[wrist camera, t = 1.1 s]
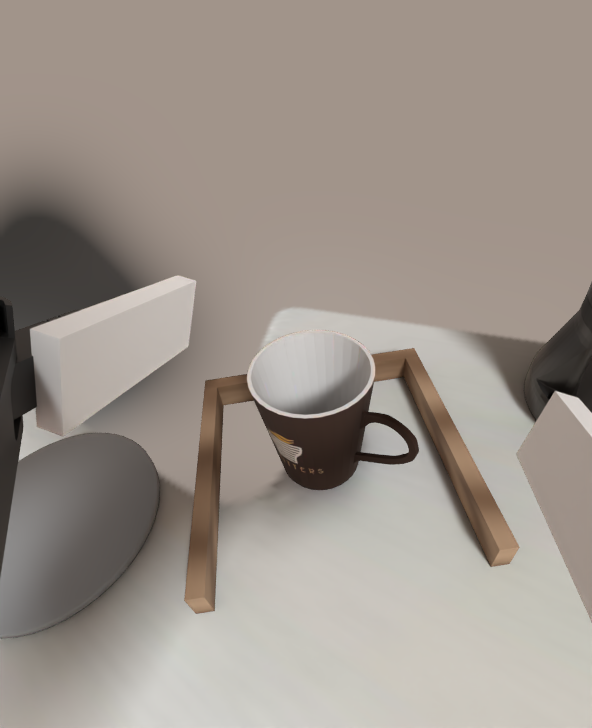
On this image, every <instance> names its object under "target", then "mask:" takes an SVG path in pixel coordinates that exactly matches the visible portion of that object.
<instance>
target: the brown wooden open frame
mask: <svg viewBox="0 0 592 728" xmlns="http://www.w3.org/2000/svg"><path fill="white" fill-rule="evenodd" d="M372 357H373V359H374V363H375V379H374V382H375V381H382V380H388V379H394V378H401V377H404V379H405V381H406V383H407V385H408V387H409V389H410V392H411V394H412V396H413V398H414V400H415V403H416V405H417V407H418V409H419V411H420V413H421V416H422V418H423V420H424V422H425V424H426V427H427V429H428V431H429V433H430V435H431V437H432V440H433V442H434V444H435V446H436V448H437V451H438V453H439V455H440V457H441V459H442V461H443V464H444V466H445V468H446V470H447V472H448V474H449V477H450V479H451V481H452V483H453V485H454V488H455V490H456V492H457V494H458V496H459V498H460V501H461V503H462V505H463V507H464V509H465V512H466V514H467V516H468V518H469V520H470V522H471V525H472V527H473V529H474V531H475V533H476V536H477V538H478V540H479V542H480V544H481V546H482V549H483V551H484V553H485V555H486V557H487V560H488V562H489V564H490V566H491V567H493V566H499V565H505V564H509V563H510V562H511V560H512V558H513V557H514V555H515V554H516V552H517V550H518V549H519V545H518V543H517V542H516V540H515V538H514V536H513V534H512V532H511V530H510V528H509V526H508V525H507V523H506V521H505V519H504V517H503V515H502V513H501V511H500V509H499V508H498V506H497V504H496V502H495V500H494V498H493V496H492V494H491V493H490V491H489V489H488V487H487V485H486V483H485V481H484V479H483V477H482V476H481V474H480V472H479V470H478V468H477V466H476V464H475V462H474V460H473V459H472V457H471V455H470V453H469V451H468V449H467V447H466V445H465V443H464V442H463V440H462V438H461V436H460V434H459V432H458V430H457V428H456V426H455V425H454V423H453V421H452V419H451V417H450V415H449V413H448V411H447V409H446V408H445V406H444V404H443V402H442V400H441V398H440V396H439V394H438V392H437V391H436V389H435V387H434V385H433V383H432V381H431V379H430V377H429V376H428V374H427V372H426V370H425V368H424V366H423V364H422V362H421V360H420V359H419V357H418V355H417V353H416V351H415V349H414V348H412V349H405V350H399V351H392V352H386V353H380V354H373V355H372ZM247 401H254V399H253V397H252V395H251V392H250V390H249V388H248V383H247V374H246V375H238V376H232V377H226V378H220V379H213V380H207V381H205V391H204V401H203V412H202V422H201V434H200V443H199V453H198V464H197V474H196V485H195V495H194V506H193V516H192V526H191V537H190V547H189V558H188V568H187V578H186V589H185V599H184V601H185V602H186V603H187V604H188V605H189V606H190V607H191V609H192V610H193V611H194V612H195V613H196V614H198V613H204V612H210V611H215V589H216V566H217V543H218V520H219V495H220V473H221V450H222V425H223V405H227V404H234V403H240V402H247Z"/></svg>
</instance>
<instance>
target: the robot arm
mask: <svg viewBox="0 0 592 728" xmlns="http://www.w3.org/2000/svg"><path fill="white" fill-rule="evenodd" d="M195 288H196V281H195V280H192V279H188V278H185V277H182V276H179V275H177V276H174V277H171V278H169V279H166V280H163V281H160V282H158V283H155V284H152V285H149V286H147V287H144V288H141V289H138V290H135V291H133V292H130V293H127V294H124V295H122V296H119V297H116V298H113V299H111V300H108V301H105V302H102V303H100V304H97V305H94V306H91V307H89V308H86V309H81V310H73V311H70V312H68V313H64V314H62V315H59V316H58V317H53V318H50V319H48V320H47V321H42V322H39V323H36V324H33V325H31V326H28V327H25V328H22V329H19V330H17V331H15V330H14V320H13V309H12V303H11V301H9V300H8V299H6V298H3V297H0V577H1V570H2V564H3V557H4V551H5V544H6V538H7V531H8V524H9V518H10V511H11V505H12V498H13V492H14V485H15V479H16V472H17V465H18V459H19V452H20V446H21V439H22V433H23V417H22V415H23V414H25V413H27V412H29V411H30V410H32V409H34V408H35V407H36V420H37V427H39V428H42V429H44V430H47V431H50V432H52V433H55V434H58V435H60V436H65V435H66V434H67V433H69V432H70V431H72V430H73V429H74V428H76V427H77V426H78V425H80V424H81V423H83V422H84V421H85V420H87V419H88V418H90V417H91V416H92V415H94V414H95V413H97V412H98V411H99V410H101V409H102V408H104V407H105V406H106V405H108V404H109V403H110V402H112V401H113V400H115V399H116V398H117V397H119V396H120V395H121V394H123V393H124V392H126V391H127V390H128V389H130V388H131V387H133V386H134V385H135V384H137V383H138V382H140V381H141V380H142V379H144V378H145V377H147V376H148V375H149V374H151V373H152V372H154V371H155V370H156V369H158V368H159V367H161V366H162V365H163V364H165V363H166V362H168V361H169V360H170V359H172V358H173V357H174V356H176V355H177V354H179V353H180V352H181V351H183V350H184V349H186V348H187V347H188V345H189V337H190V329H191V321H192V312H193V305H194V296H195ZM524 393H525V398H526V402H527V404H528V407H529V409H530V411H531V413H532V414H533V416H534V417H535V419H536V420H537V421H536V423H535V424H534V426H533V428H532V429H531V431H530V432H529V434H528V436H527V437H526V439H525V441H524V442H523V444H522V446H521V447H520V449H519V450H518V452H517V454H516V455H517V457H518V459H519V462H520V464H521V466H522V468H523V470H524V473H525V475H526V477H527V479H528V482H529V484H530V486H531V488H532V490H533V493H534V495H535V497H536V499H537V502H538V504H539V506H540V508H541V510H542V513H543V515H544V517H545V519H546V522H547V524H548V526H549V528H550V530H551V533H552V535H553V537H554V539H555V542H556V544H557V546H558V548H559V550H560V553H561V555H562V557H563V559H564V562H565V564H566V566H567V568H568V570H569V573H570V575H571V577H572V579H573V582H574V584H575V586H576V588H577V590H578V593H579V595H580V597H581V599H582V602H583V604H584V606H585V608H586V610H587V613H588V615H589V617H590V619H591V622H592V283H591V285H590V287H589V290H588V293H587V295H586V297H585V300H584V301H583V304H582V306H581V308H580V310H579V311H578V312H577V313H576V314H575V315H574V316H573V317H572V318H571V319H570V320H569V321H568V322H567V323H566V324H565V325H564V326H563V327H562V328H561V329H560V330H559V331H558V332H557V333H556V334H555V335H554V336H553V337H552V338H551V339H550V340H549V341H548V342H547V343H546V344H545V345H544V346H543V347H542V348H541V349H540V350H539V352H538V353H537V354H536V356H535V357H534V359H533V361H532V363H531V366H530V368H529V371H528V374H527V376H526V379H525V384H524Z"/></svg>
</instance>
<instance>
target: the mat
mask: <svg viewBox="0 0 592 728" xmlns="http://www.w3.org/2000/svg"><path fill="white" fill-rule="evenodd" d="M159 495H160V486H159V478H158V473H157V470H156V468H155V466H154V463H153V462H152V460H151V459H150V457H149V456H148V454H147V453H146V451H145V450H144V449H143V448H142V447H141V446H140V445H139V444H137V443H136V442H134V441H133V440H130V439H128V438H126V437H124V436H120V435H116V434H109V433H90V434H83V435H78V436H73V437H70V438H66V439H63V440H60V441H57V442H55V443H52V444H50V445H47V446H45V447H43V448H41V449H39V450H37V451H35V452H33V453H32V454H30V455H28V456H26V457H25V458H23V459H22V460H20V461H19V462H18V465H17V472H16V479H15V485H14V492H13V498H12V505H11V511H10V518H9V524H8V531H7V538H6V544H5V551H4V557H3V564H2V570H1V577H0V639H2V638H14V637H20V636H24V635H29V634H33V633H36V632H39V631H41V630H44V629H47V628H50V627H52V626H54V625H56V624H58V623H60V622H62V621H64V620H66V619H68V618H69V617H71V616H73V615H74V614H76V613H77V612H79V611H81V610H82V609H84V608H85V607H86V606H88V605H89V604H90V603H92V602H93V601H94V600H95V599H97V598H98V597H99V596H100V595H101V594H103V593H104V592H105V591H106V590H107V589H108V588H109V587H110V586H111V585H112V584H113V583H114V582H115V581H116V580H117V579H118V578H119V577H120V576H121V575H122V573H123V572H124V571H125V570H126V569H127V567H128V566H129V565H130V564H131V562H132V561H133V560H134V558H135V557H136V555H137V554H138V552H139V551H140V549H141V547H142V546H143V544H144V542H145V540H146V538H147V536H148V534H149V532H150V530H151V528H152V525H153V522H154V520H155V517H156V513H157V509H158V505H159Z"/></svg>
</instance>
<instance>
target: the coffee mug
mask: <svg viewBox="0 0 592 728" xmlns="http://www.w3.org/2000/svg"><path fill="white" fill-rule="evenodd" d="M374 379H375V363H374V359H373V357H372V355H371V354H370V352H369V351H368V349H367V348H366V347H365V346H364V345H363V344H361V343H360V342H359V341H357V340H356V339H354V338H352V337H350V336H348V335H345V334H342V333H338V332H334V331H327V330H307V331H300V332H295V333H291V334H288V335H285V336H282V337H280V338H278V339H276V340H274V341H272V342H271V343H269V344H268V345H266V346H265V347H263V348H262V349H261V350H260V351H259V352H258V353H257V354H256V356H255V357H254V359H253V360H252V362H251V364H250V366H249V369H248V373H247V383H248V388H249V390H250V392H251V395H252V397H253V399H254V401H255V403H256V406H257V408H258V410H259V412H260V415H261V417H262V419H263V421H264V423H265V426H266V428H267V430H268V432H269V435H270V437H271V439H272V441H273V443H274V446H275V448H276V450H277V452H278V455H279V457H280V459H281V461H282V463H283V466H284V468H285V470H286V472H287V474H288V475H289V477H290V478H291V479H292V480H293V481H295V482H296V483H297V484H299V485H301V486H303V487H305V488H308V489H313V490H327V489H331V488H335V487H337V486H339V485H341V484H343V483H344V482H346V481H347V480H348V479H349V478H350V477H351V476H352V475H353V473H354V472H355V470H356V468H357V465H358V462H359V461H360V460H361V461H368V462H374V463H382V464H404V463H408V462H411V461H412V460H414V458H415V457H416V455H417V454H418V452H419V448H418V442H417V439H416V437H415V436H414V435H413V434H412V432H411V431H410V430H409V429H408V428H407V427H405V426H404V425H403V424H402V423H400V422H399V421H397V420H396V419H394V418H393V417H391V416H389V415H386V414H380V413H374V412H368V410H369V405H370V399H371V394H372V389H373V384H374ZM374 422H376V423H381V424H384V425H387V426H389V427H391V428H392V429H394V430H395V431H396V432H398V433H399V434H400V435H401V436H402V437H403V438H404V440H405V441H406V443H407V445H408V448H409V453H406V454H402V455H398V456H389V455H378V454H371V453H362V452H360V451H361V446H362V441H363V436H364V431H365V426H366V425H368V424H369V423H374Z"/></svg>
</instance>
